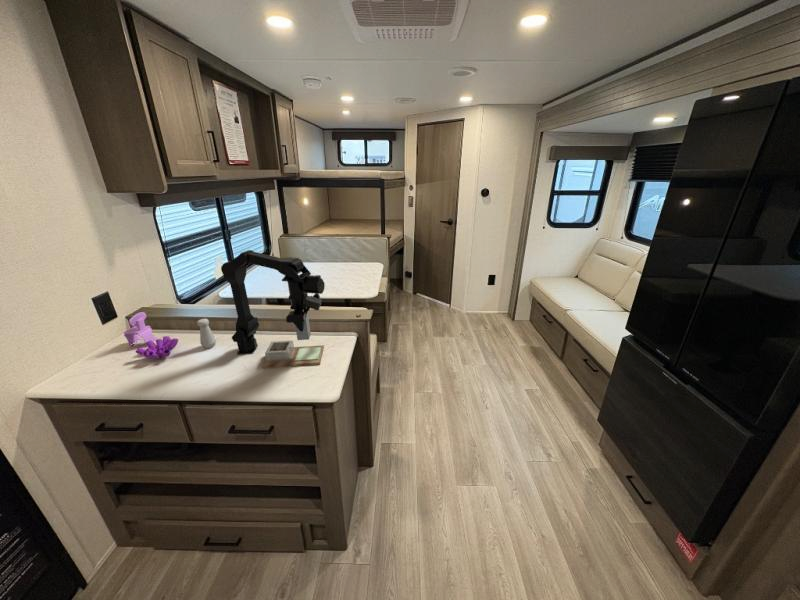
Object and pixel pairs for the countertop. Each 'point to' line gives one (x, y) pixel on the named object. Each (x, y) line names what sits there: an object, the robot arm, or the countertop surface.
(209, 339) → the salt shaker
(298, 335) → the steel key
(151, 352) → the purple coral
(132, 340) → the toy chair
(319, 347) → the stand board
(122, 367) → the countertop surface
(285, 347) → the socket
